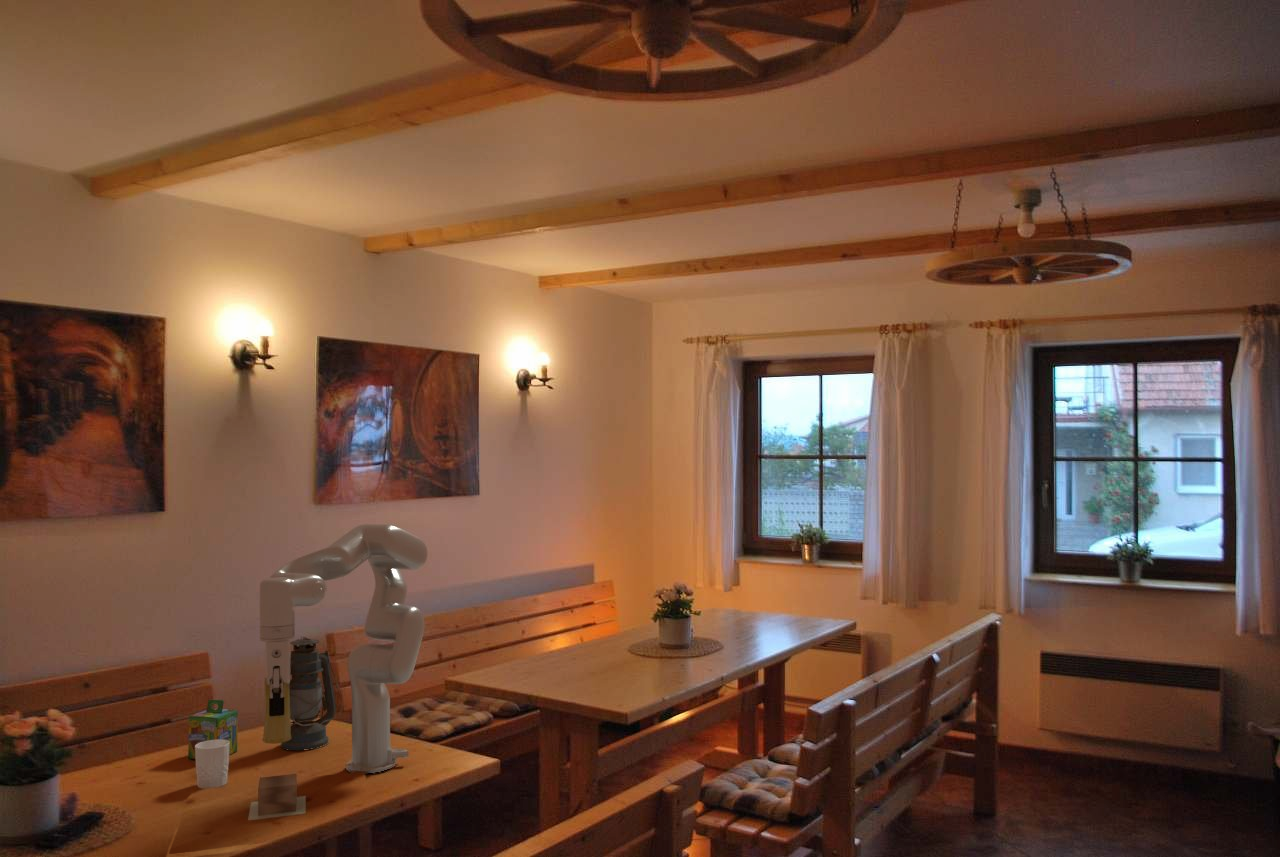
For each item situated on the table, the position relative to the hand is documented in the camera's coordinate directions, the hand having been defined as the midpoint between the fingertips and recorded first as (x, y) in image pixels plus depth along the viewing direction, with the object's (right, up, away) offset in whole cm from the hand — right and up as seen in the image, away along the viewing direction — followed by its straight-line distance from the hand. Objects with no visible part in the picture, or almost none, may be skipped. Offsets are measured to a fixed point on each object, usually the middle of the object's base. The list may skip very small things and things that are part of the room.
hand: (277, 711), depth 224 cm
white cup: (-23, -24, +19) cm, 38 cm away
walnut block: (0, -22, -1) cm, 22 cm away
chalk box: (-33, -25, +43) cm, 60 cm away
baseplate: (0, -23, -1) cm, 23 cm away
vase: (0, -7, 0) cm, 7 cm away
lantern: (-11, -24, +52) cm, 58 cm away
